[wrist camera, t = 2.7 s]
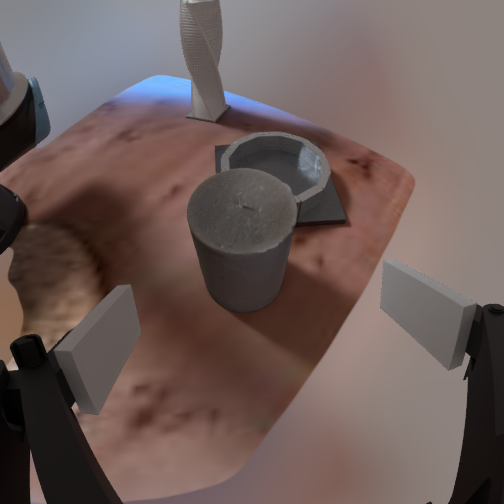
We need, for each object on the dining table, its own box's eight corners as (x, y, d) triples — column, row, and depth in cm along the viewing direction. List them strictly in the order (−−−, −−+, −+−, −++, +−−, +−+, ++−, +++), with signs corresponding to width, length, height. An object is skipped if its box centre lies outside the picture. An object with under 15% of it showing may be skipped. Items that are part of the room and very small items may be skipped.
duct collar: (218, 233, 40) (215, 214, 37) (215, 150, 49) (213, 132, 46) (344, 223, 41) (351, 205, 38) (315, 145, 50) (318, 127, 47)
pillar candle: (191, 269, 37) (163, 188, 24) (252, 231, 40) (253, 144, 27) (235, 329, 33) (224, 270, 20) (299, 283, 36) (325, 206, 23)
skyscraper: (236, 107, 57) (232, -16, 33) (219, 127, 53) (208, -11, 30) (202, 102, 59) (190, -14, 35) (183, 120, 55) (164, -7, 31)
